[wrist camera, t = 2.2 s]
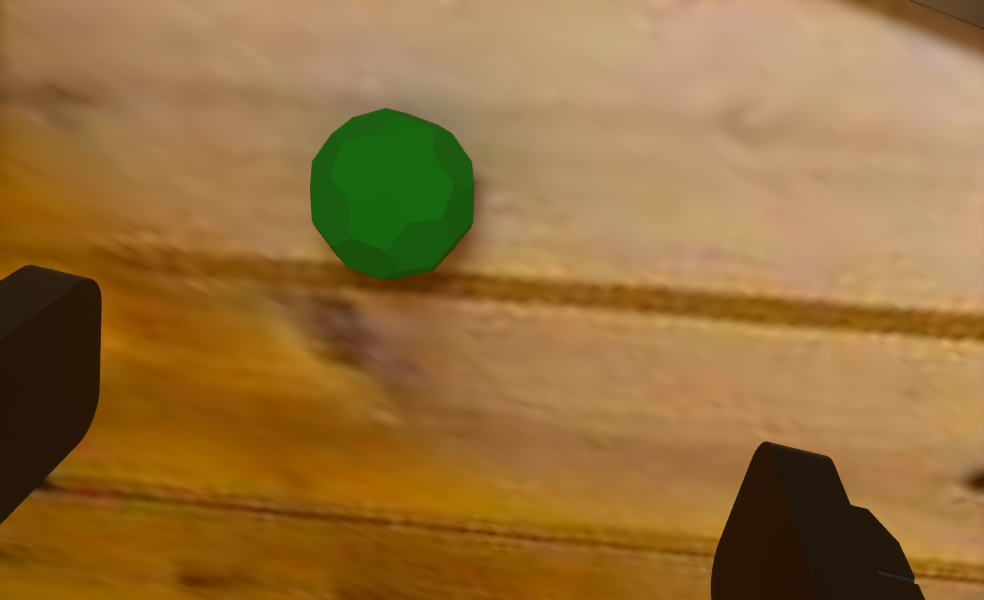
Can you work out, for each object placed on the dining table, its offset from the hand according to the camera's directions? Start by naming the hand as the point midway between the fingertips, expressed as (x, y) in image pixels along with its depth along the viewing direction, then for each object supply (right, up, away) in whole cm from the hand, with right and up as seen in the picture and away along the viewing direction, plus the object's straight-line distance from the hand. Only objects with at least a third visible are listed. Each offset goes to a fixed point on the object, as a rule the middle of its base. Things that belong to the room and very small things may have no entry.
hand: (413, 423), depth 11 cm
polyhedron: (-2, +6, +18) cm, 19 cm away
